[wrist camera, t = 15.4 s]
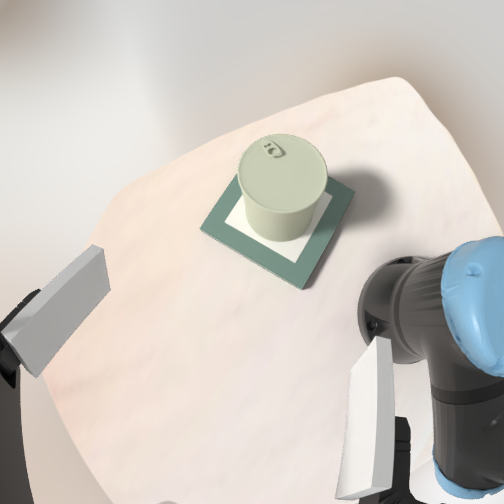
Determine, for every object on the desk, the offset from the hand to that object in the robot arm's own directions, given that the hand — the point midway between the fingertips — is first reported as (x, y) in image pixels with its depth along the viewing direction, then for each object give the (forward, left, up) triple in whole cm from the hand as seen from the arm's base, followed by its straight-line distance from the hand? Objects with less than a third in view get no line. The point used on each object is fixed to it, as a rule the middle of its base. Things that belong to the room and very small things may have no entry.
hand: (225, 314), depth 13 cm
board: (+4, -14, -26) cm, 30 cm away
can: (+4, -14, -25) cm, 29 cm away
